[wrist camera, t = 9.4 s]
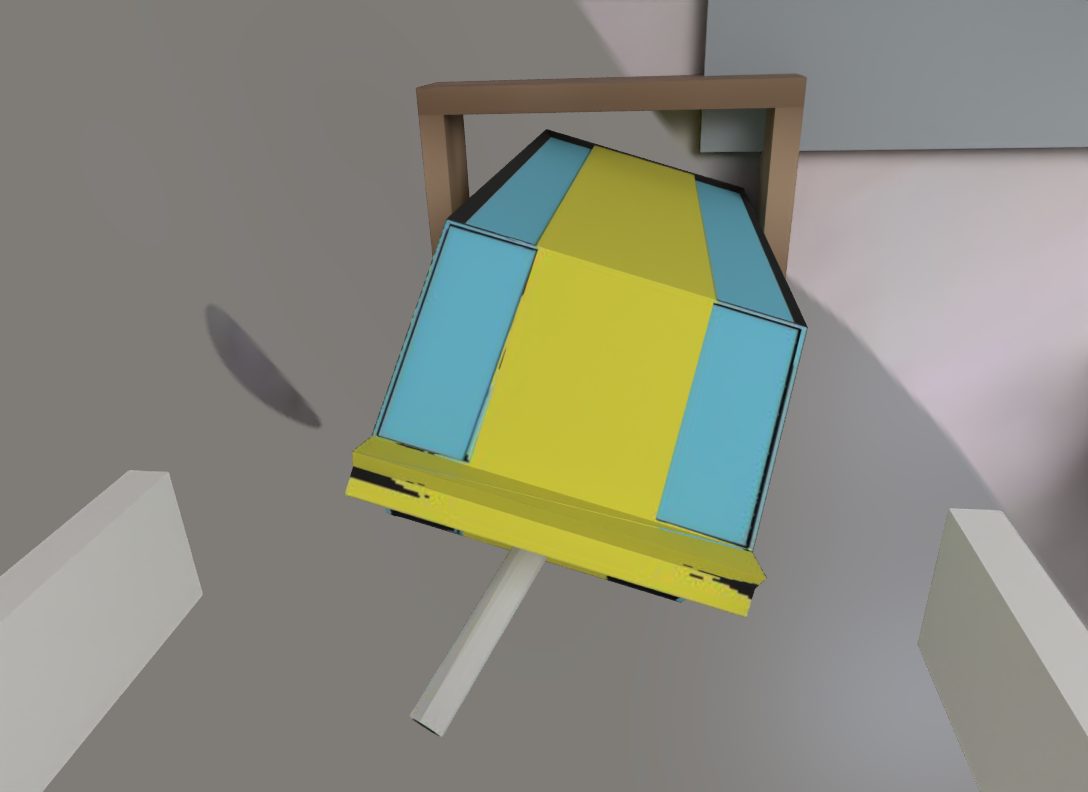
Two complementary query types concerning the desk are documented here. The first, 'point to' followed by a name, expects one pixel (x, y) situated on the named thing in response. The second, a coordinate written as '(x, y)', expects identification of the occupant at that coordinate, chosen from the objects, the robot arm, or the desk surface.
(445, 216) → the frame
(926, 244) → the desk surface
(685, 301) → the carton
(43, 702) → the robot arm
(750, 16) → the mat
